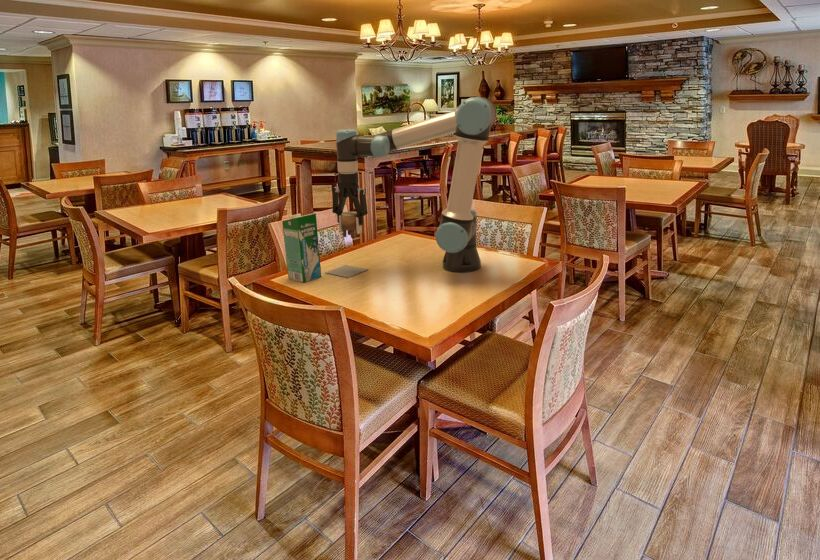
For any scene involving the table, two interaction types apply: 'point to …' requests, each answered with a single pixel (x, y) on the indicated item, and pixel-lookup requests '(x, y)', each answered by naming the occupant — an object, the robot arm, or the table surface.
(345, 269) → the mat
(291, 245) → the milk carton
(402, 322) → the table surface
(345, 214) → the footstool
